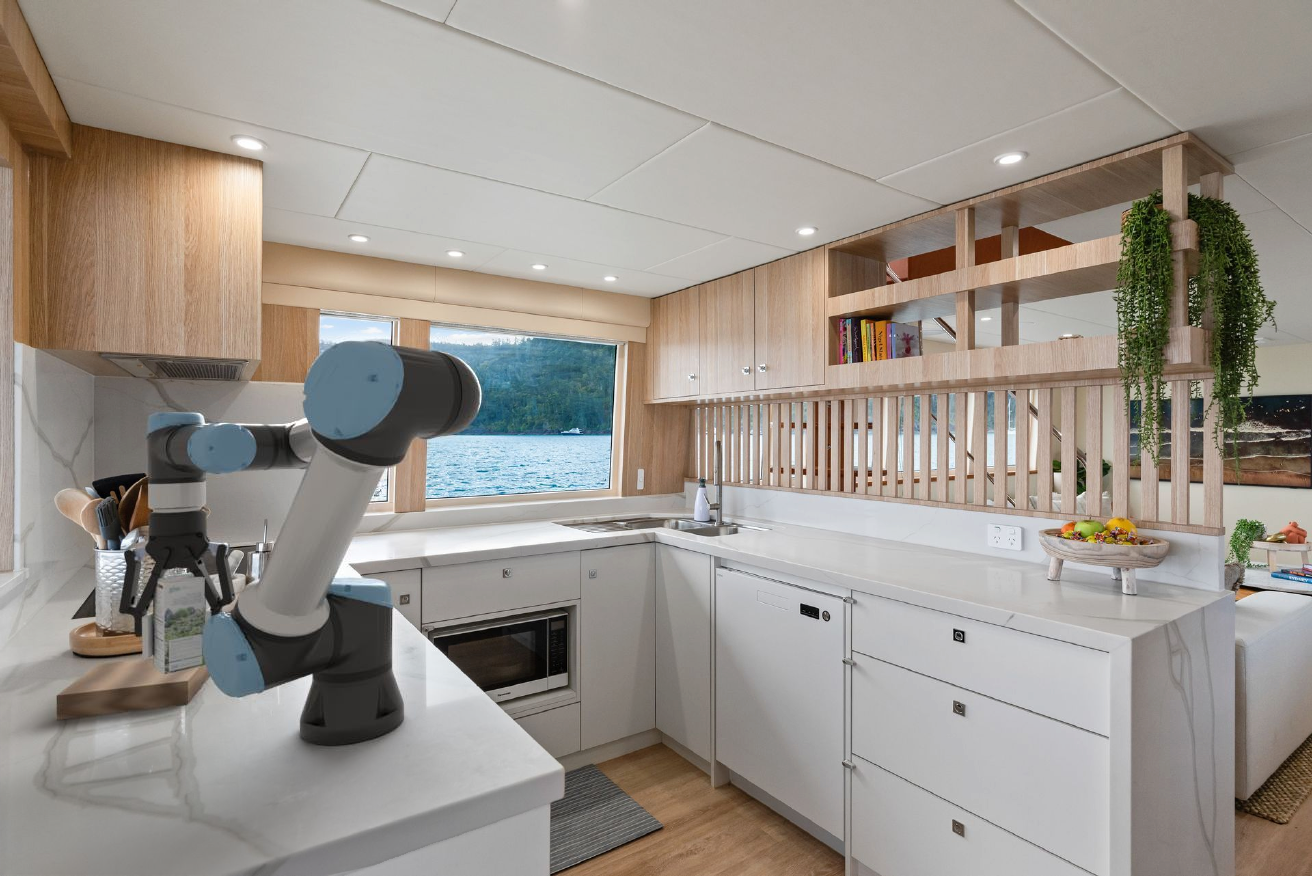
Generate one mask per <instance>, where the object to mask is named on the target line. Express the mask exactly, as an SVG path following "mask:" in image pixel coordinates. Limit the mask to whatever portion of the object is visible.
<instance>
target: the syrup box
mask: <svg viewBox="0 0 1312 876" xmlns="http://www.w3.org/2000/svg"><path fill="white" fill-rule="evenodd" d="M204 592H205V578H203V577H194V575H193V574H192V573H191V572H185V573H179V574H171V575H166V576H165V575H164V577H161V578H159V579H158V582H157V585H156V589H155V592H154V596H153V600H152V613H153V655H152V656H153V657H152V658H153V665H154V668H156V669H157V670H159V671H160V672H162V673H164V674H168V673H173V672H177V671H182V670H186V669H190V668H195V667H199V666H203V665H206V663H205V659H204V655H203V649H202V634H203V629H204V626H205V611H206V610H207V607H206V606H207V600H206V598H205V596H204Z"/></svg>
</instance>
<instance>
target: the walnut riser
mask: <svg viewBox="0 0 1312 876" xmlns="http://www.w3.org/2000/svg"><path fill="white" fill-rule="evenodd" d="M209 678H211V676H210V674H209V672H208V669H207V667H206V665H203V666H199V667H195V668H190V669H186V670H182V671H177V672H173V673H168V674H164V673H162V672H160V671H159V670H157V669H156V668H154V665H153V657H152V658H149V659H135V660H133V659H132V660H123V661H112V662H103V663H97V664H96V665H95V666H93V667H92V668H90V669H89V670H88V671H86V673H84V674H82V675H81V676H80V677H79V678H77V679H76V680H74V682H72V683H71V684H70V685H68V686H67V687H66V688H63V690H62V691H60V692H59V693H58V694H56V721H61V720H67V719H74V718H75V719H76V718H84V717H93V716H101V715H109V714H117V713H125V712H134V711H142V710H151V709H158V708H159V709H161V708H167V707H174V706H175V707H176V706H181V705H182V706H183V705H189V704H190V703H191V701H192V700H193V698H194V697H195V696H196V695H197V694H198V692H199V691H200V690H201V688H202V687H203V686H204V684H205V683H206V682H207V680H208V679H209Z"/></svg>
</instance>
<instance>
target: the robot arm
mask: <svg viewBox="0 0 1312 876" xmlns="http://www.w3.org/2000/svg"><path fill="white" fill-rule="evenodd" d="M302 394H303V395H305V399H304V400H303V401H302V408H303V412H304V416H305V418H301V419H300V420H296V421H293V422H291V423H283V424H274V423H273V424H270V423H269V424H267V423H265V424H264V423H262V424H261V423H232V422H228V421H227V422H219V421H218V422H217V421H216V422H210V423H206V421H205V417H204V415H203V414H201V413H199V412H189V411H187V412H182V411H179V412H178V411H175V412H174V411H172V412H171V411H169V412H154V413H152V414H151V415H149V417H148V419H147V428H146V435H145V439H146V443H147V445H146V447H147V452H146V454H147V480H148V481H147V484H148V485H147V488H148V489H147V490H148V491H147V495H148V496H147V499H148V500H147V501H148V502H147V508H148V509H150V510H152V511H151V512H149V514H148V516H147V517H148V541H147V542H146V544H145V546H140V547H132V548H129V549H127V550H125V551H124V552H123V556H124V560H125V564H126V566H125V572H124V578H123V584H122V592H121V597H120V602H119V609H118V612H119V613H120V614H121V615H130V616H132V617H133V618H134V620H133V621H134V622H133V623H134V635H135V638H141V637H142V638H141V640H142V641H141V642H142V651H141V652H142V657H141V658H142V659H151V657H152V656H153V612H149V611H150V606H151V604H152V603H153V596H154V592H155V589H156V585H157V582H158V579H159V578H161V577H164V576H165V574H166V573H167V571H168V570H173V569H176V568H177V569H189V571H190V573H192V574H193V575H194V577H203V578H205V592H204V596H205V598H206V603H208V605H209V607H208V608H207V609H206V611H205V626H204V629H203V634H202V649H203V655H204V659H205V663H206V667H207V669H208V672H209V674H210V678H211V680H212V681H213V683H214V684H215V686H216V688H217V689H218V690H220V692H222V693H223V694H224V695H225V696H229V697H230V698H237V699H238V698H244V697H247V696H251V695H255V694H261V693H264V692H265V691H268V690H272V689H273V688H276V687H279V686H282V685H285V684H287V683H291V682H294V681H297V680H299V679H303V678H306V677H308V676H311V675H312V679H311V683H310V684H311V685H310V687H309V690H308V693H307V696H306V700H305V702H304V705H303V709H302V711H301V714H300V719H299V736H300V737H301V739H302V740H304V741H306V742H308V743H311V744H314V745H316V744H317V745H324V746H325V745H326V746H328V745H329V746H338V745H348V744H349V745H350V744H355V743H361V742H363V741H368V740H371V739H374V738H377V737H380V736H382V735H385V734H387V733H389V732H391V731H392V730H394V729H395V728H397V727H398V726H400V725H401V723H402V722H403V721H404V718H405V702H404V699H403V696H402V693H401V690H400V687H399V686H398V683H397V680H396V677H395V673H394V671H393V609H394V605H393V599H392V597H393V596H392V588H391V585H390V584H389V583H387V582H386V581H383V580H381V579H376V578H369V577H336V575H337V573H338V571H339V569H340V567H341V564H342V563H343V560H344V558H345V556H346V554H347V551H348V549H349V547H350V545H351V543H352V541H353V539H354V536H355V534H356V532H357V530H358V528H359V526H360V524H361V522H362V519H363V518H364V515H365V512H366V511H367V509H368V507H369V504H370V503H371V501H372V499H373V498H372V497H373V496H374V494H375V492H376V490H377V488H378V485H379V483H380V481H381V480H382V477H383V474H384V473H385V471H386V469H391V468H393V467H396V466H399V465H400V464H401V463H402V462H404V461H403V460H404V458H405V457H406V454H407V453H408V450H409V448H410V446H411V444H412V442H413V440H414V439H418V440H423V441H425V440H431V439H436V438H441V437H448V436H452V435H455V434H459V433H460V432H462V431H464V430H465V429H467V427H469V426H470V425H471V424H472V423H473V421H474V420H475V419H476V417H477V415H478V413H479V410H480V407H481V404H482V389H481V384H480V382H479V379H478V377H477V375H476V374H475V372H474V371H473V369H472V368H471V366H469V365H468V364H467V363H466V362H465V361H463V360H462V359H461V358H459V357H458V356H455V355H454V354H451V353H448V352H444V351H439V350H434V349H433V350H428V349H422V348H415V347H409V346H401V345H395V344H389V343H385V342H382V341H377V340H365V341H364V340H363V341H361V340H360V341H359V340H345V341H341V342H339V343H335V344H332V345H331V346H329V347H327V348H326V349H325V350H323V351H321V353H320V354H319V355H318V356H317V357H316V359H315V360H314V362H313V363H312V364H311V366H310V367H309V369H308V371H307V373H306V376H305V381H304V383H303V388H302ZM296 469H299V470H305V473H304V475H303V476H302V479H301V480H300V484H299V486H298V488H297V491H296V493H295V495H294V497H293V499H292V502H291V504H290V508H289V510H288V512H287V513H286V517H285V518H284V521H283V523H282V525H281V528H280V531H279V533H278V535H277V538H276V540H275V543H274V545H273V546H272V550H271V551H270V554H269V556H268V559H267V561H266V563H265V566H264V568H263V570H262V573H261V575H260V576H259V577H260V578H257V579H255V580H253V581H251V582H250V583H247V584H246V585H245V586H244V587H243V588H242V589H241V591H240V593H239V595H238V597H237V599H236V593H235V589H234V583H233V577H232V572H231V568H230V563H229V556H228V555H229V551H230V543H229V542H227V541H224V542H222V543H221V542H214V541H213V542H211V540H210V539H209V537H208V533H207V528H208V527H207V510H205V508H203V507H205V506H206V505H207V479H206V474H207V473H209V474H210V473H211V474H214V475H220V474H231V473H232V474H233V473H236V472H239V473H240V472H253V471H254V472H255V471H271V470H296ZM208 550H210V552H211V555H212V556H213V557H214V558H215V567H216V571H217V576H218V581H219V585H220V591H221V595H220V594H219V592H218V590H217V587H216V586H215V584H214V582H213V580H212V577H211V576H210V574H209V572H208V570H207V569H206V564H205V562H204V561H203V559H202V557H203V556H204V555H205V554H206V552H207V551H208ZM146 554H148V556H149V557H150V558H151V559H152V560H153V561H154V562H155V563H154V565H153V568H152V570H151V572H150V577H149V578H148V580H147V582H146V584H145V587H144V589H143V591H142V594H141V595H140V597H139V599H138V602H137V604H136V598H137V592H138V587H139V582H140V581H139V580H140V573H141V569H142V561H144V559H146V558H145V556H146ZM235 600H236V602H235V604H234V606H233V608H232V609H231V610H229V611H227V612H225V611H223V608H224V607H225V606H228V605H231V604H232V603H233V602H234V601H235ZM142 659H141V660H142Z"/></svg>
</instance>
